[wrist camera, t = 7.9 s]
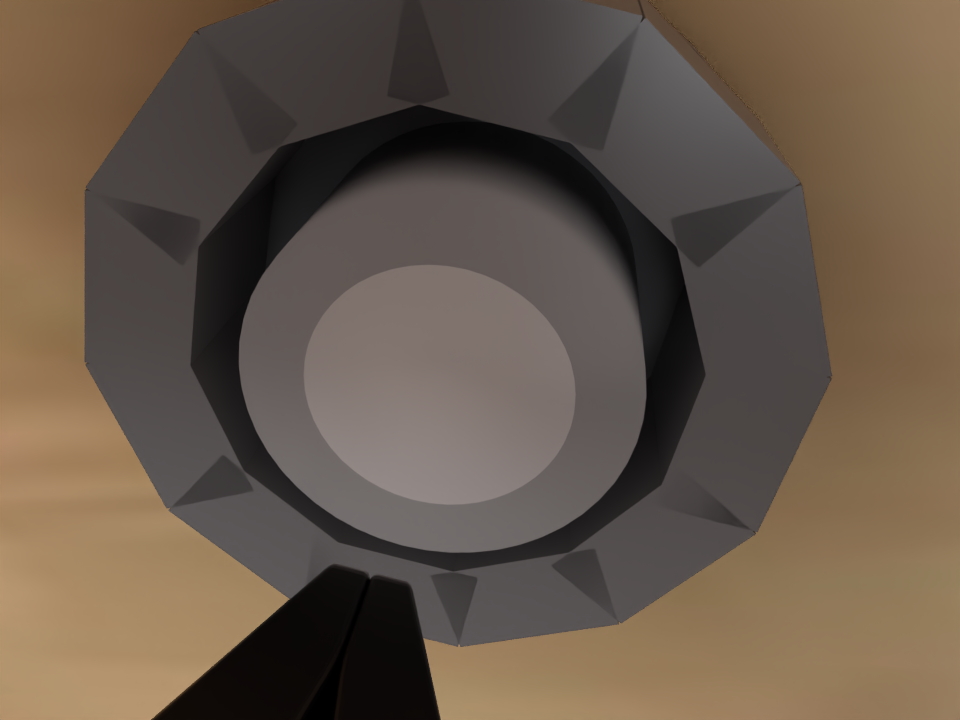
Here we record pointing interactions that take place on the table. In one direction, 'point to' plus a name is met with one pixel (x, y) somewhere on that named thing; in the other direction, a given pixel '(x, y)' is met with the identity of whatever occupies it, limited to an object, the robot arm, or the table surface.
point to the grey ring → (323, 165)
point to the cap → (452, 342)
